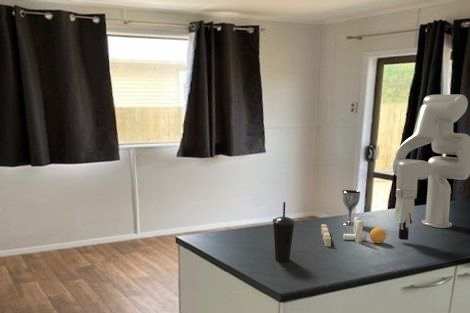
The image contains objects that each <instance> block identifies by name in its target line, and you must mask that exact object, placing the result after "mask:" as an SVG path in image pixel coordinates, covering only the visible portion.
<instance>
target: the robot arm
mask: <svg viewBox="0 0 470 313" xmlns="http://www.w3.org/2000/svg"><path fill="white" fill-rule="evenodd" d="M468 104H469V101H468V98H467V97H466V95H464V94H430V95H427V96H425V97H424V99H423V102H422V104H421V106H420V108H419V111H418V114H417V118H416V121H415V126H414V129H413V133H412V135H411V136H409V137H408V138H406V140H404V141H403V142H402V144H400V146H398V148H397V150H396V151H395V152H396V153H395V155H394V160H393V164H392V172H393V174H394V175H395V176H396V186H395V187H396V189H395V197H396V200H395V207H394V219H395V220H396V221H397V222H399V225H398V239H399V240H403V241H408V240H409V234H410V232H409V231H410V226H411V225H412V224H413V223H414V220H415V199H417V198H418V197H417V195H418V194H417V193H418V180H426V179H427V192H426V193H427V195H426V208H425V209H426V210H425V218H424V219H421V223H422V225H424V226H427V227H432V228H436V229H437V228H438V229H439V228H440V229H447V228H449V229H450V228H452V227H453V223H452V222H450V221H449V217H450V205H451V203H450V202H451V194H452V189H451V188H452V187H451V184H450V183H449V181H448V180H447V179H450V180H452V179H453V180H461V181H462V180H467V179H469V177H470V135H469V134H467V133H461V132H459V133H458V132H457V133H456V132H454V123H456V122H458V120H460V118H461V117H462V116H464V114H465V113H466V111H467V108H468ZM428 144H431V149H432V152H434V153H436V154H440V155H439V156H432V157H430V158H429V159H428V161H425V160H419V159H411V158H406V157H407V156H408V154H409V153H410V152H411V151H413V150H415V149H418V148H420V147H423V146H426V145H428ZM441 154H442V155H453V156H454V155H455V156H457V157H452V156H441Z"/></svg>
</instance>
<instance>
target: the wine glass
mask: <svg viewBox="0 0 470 313" xmlns="http://www.w3.org/2000/svg"><path fill="white" fill-rule="evenodd" d="M341 191H342V192H341V200H342V203H343V205H344V207H345V208H346V209H347V211H348V220H346V221H341V224H342V225H343V226H347V227H348V226H352V227H354V221H352V219H351V218H352V212H353V211H354V209H355V208H356V207H357V206H358V205H359V202H360V199H361V191H359V190H356V189H355V190H354V189H343V190H341Z"/></svg>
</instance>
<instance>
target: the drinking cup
mask: <svg viewBox="0 0 470 313" xmlns="http://www.w3.org/2000/svg"><path fill="white" fill-rule="evenodd" d="M272 224H273V236H274V237H273V238H274V239H273V240H274V255H275V256H274V257H275V258H274V259H275V260H276V261H277V262H283V263H285V262H289V261H290V259H291V252H292V250H291V249H292V244H293V235H294V227H295V224H296V221H295V219H292V218H291V217H287V216H286V202H285V201H283V206H282V216H277V217H275V218H273V219H272Z"/></svg>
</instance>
